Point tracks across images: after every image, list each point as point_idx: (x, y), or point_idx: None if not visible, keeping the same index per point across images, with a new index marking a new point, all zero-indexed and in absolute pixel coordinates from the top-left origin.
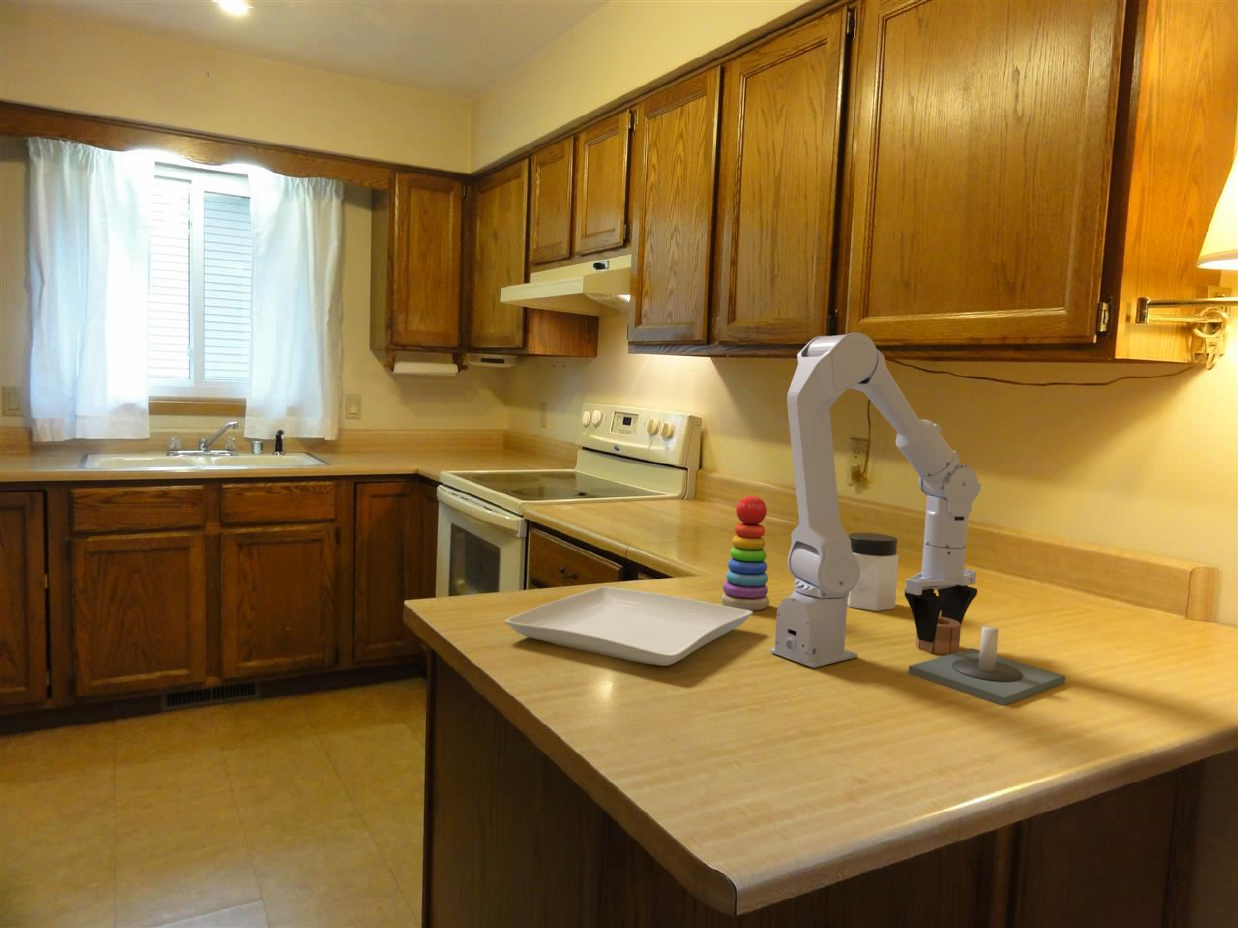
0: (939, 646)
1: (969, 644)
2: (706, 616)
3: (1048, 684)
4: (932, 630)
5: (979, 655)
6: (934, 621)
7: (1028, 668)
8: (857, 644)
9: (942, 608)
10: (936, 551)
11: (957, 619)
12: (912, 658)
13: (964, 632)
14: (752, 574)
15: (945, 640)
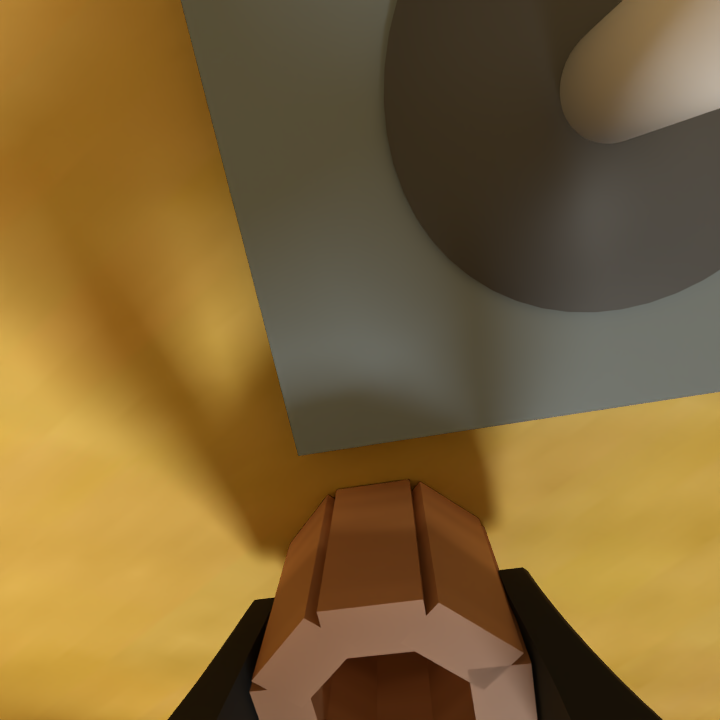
0: (466, 532)
1: (174, 554)
2: None
3: None
4: (565, 621)
5: (372, 343)
6: (604, 679)
7: (271, 8)
8: (707, 717)
9: None
10: None
11: (242, 693)
12: (656, 503)
13: (60, 673)
14: None
15: (448, 543)
